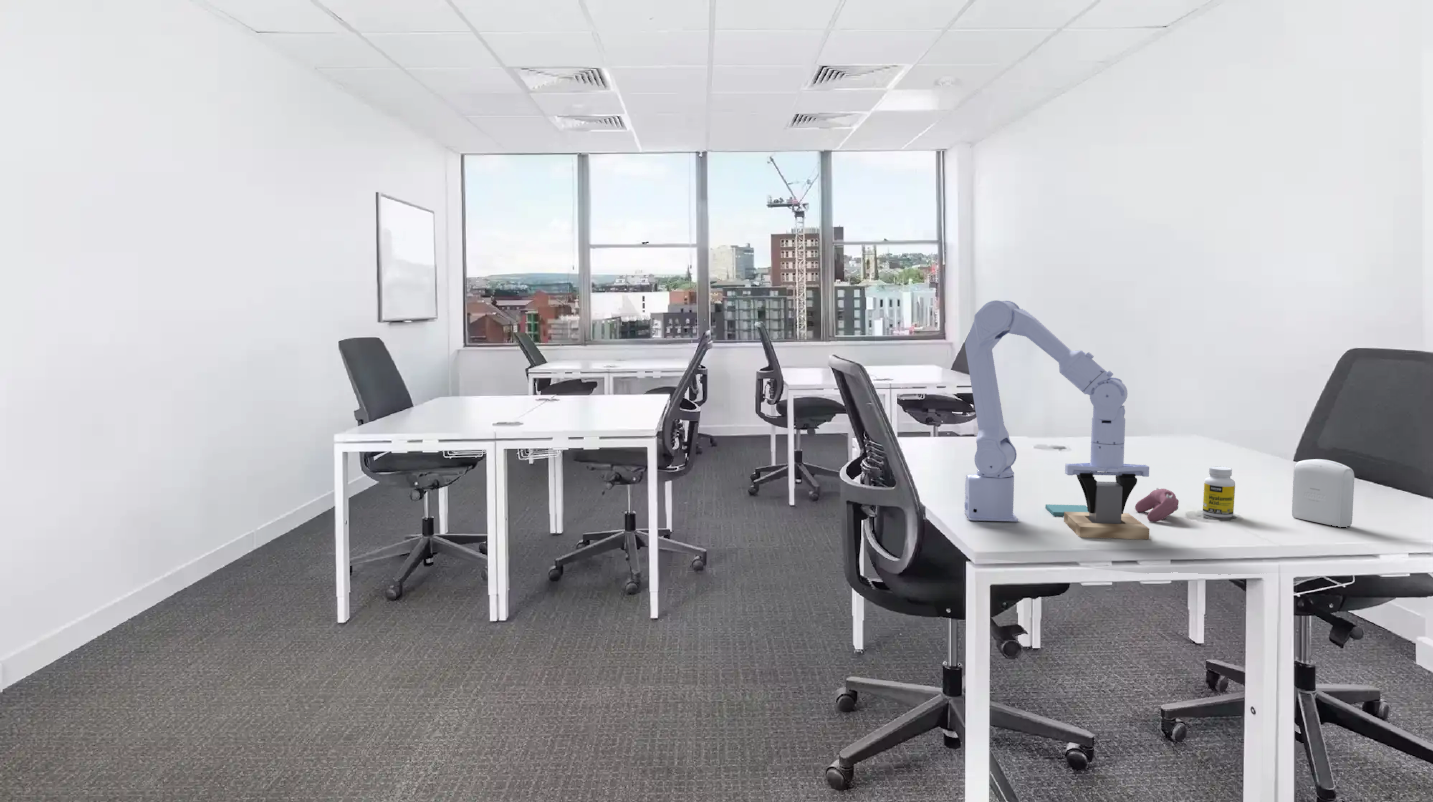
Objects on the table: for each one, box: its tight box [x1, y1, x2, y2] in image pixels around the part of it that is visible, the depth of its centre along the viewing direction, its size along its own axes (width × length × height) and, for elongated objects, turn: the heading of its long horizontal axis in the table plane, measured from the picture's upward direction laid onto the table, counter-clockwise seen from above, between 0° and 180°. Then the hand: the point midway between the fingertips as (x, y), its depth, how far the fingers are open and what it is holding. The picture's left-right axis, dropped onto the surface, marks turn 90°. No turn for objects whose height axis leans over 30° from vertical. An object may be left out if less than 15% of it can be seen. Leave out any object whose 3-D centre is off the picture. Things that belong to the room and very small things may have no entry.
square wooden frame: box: [1063, 512, 1150, 540], centre depth 158 cm, size 12×12×2 cm
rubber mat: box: [1044, 504, 1088, 517], centre depth 173 cm, size 8×7×1 cm
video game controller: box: [1134, 487, 1179, 523], centre depth 168 cm, size 10×5×7 cm, turn 168°
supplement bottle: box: [1202, 465, 1236, 519], centre depth 168 cm, size 5×5×10 cm
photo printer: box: [1291, 458, 1355, 528], centre depth 161 cm, size 10×4×12 cm, turn 20°
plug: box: [1089, 481, 1122, 524], centre depth 158 cm, size 4×4×9 cm
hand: (1105, 512), depth 158 cm, fingers closed on plug, 4 cm apart
